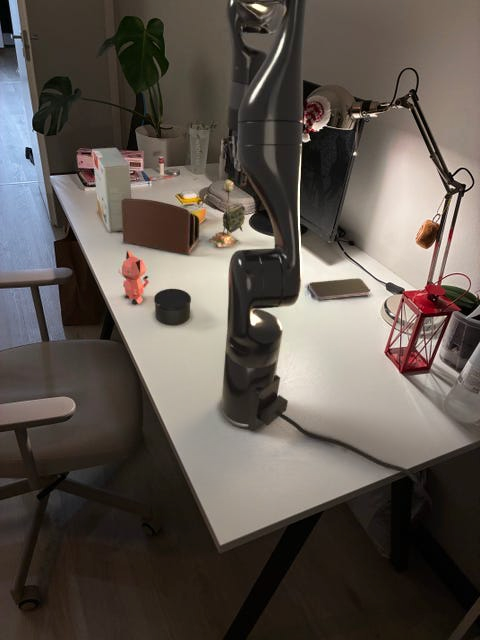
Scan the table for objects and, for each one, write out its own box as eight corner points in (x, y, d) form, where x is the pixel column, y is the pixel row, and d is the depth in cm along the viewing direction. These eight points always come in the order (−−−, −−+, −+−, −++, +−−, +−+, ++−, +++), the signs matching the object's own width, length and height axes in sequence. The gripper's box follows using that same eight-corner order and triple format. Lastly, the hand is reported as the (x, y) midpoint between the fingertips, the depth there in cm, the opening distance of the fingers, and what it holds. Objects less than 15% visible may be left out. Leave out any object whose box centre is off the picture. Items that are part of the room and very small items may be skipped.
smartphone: (308, 282, 133) (360, 277, 136) (307, 286, 134) (359, 281, 137) (317, 297, 127) (372, 292, 130) (317, 301, 128) (371, 295, 131)
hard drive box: (97, 211, 160) (91, 148, 149) (121, 209, 163) (117, 147, 152) (108, 232, 149) (103, 166, 137) (134, 229, 152) (130, 164, 140)
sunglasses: (175, 230, 153) (173, 214, 151) (151, 218, 164) (150, 203, 161) (213, 221, 160) (213, 206, 158) (188, 210, 171) (188, 196, 168)
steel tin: (197, 316, 118) (198, 299, 115) (171, 330, 113) (170, 313, 110) (174, 301, 122) (174, 284, 120) (147, 314, 117) (146, 297, 114)
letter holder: (188, 255, 141) (189, 208, 133) (122, 243, 144) (119, 196, 136) (199, 240, 149) (200, 195, 141) (136, 229, 152) (134, 183, 144)
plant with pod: (249, 245, 149) (256, 179, 138) (214, 250, 145) (218, 183, 133) (238, 233, 155) (243, 169, 144) (204, 238, 151) (206, 172, 139)
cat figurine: (115, 295, 122) (112, 251, 115) (140, 287, 126) (138, 244, 119) (130, 309, 118) (127, 265, 111) (155, 300, 122) (154, 257, 115)
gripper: (217, 97, 108) (213, 177, 118) (243, 113, 98) (237, 198, 108) (248, 97, 111) (242, 174, 121) (277, 112, 101) (268, 195, 111)
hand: (240, 185), depth 115 cm, fingers closed
